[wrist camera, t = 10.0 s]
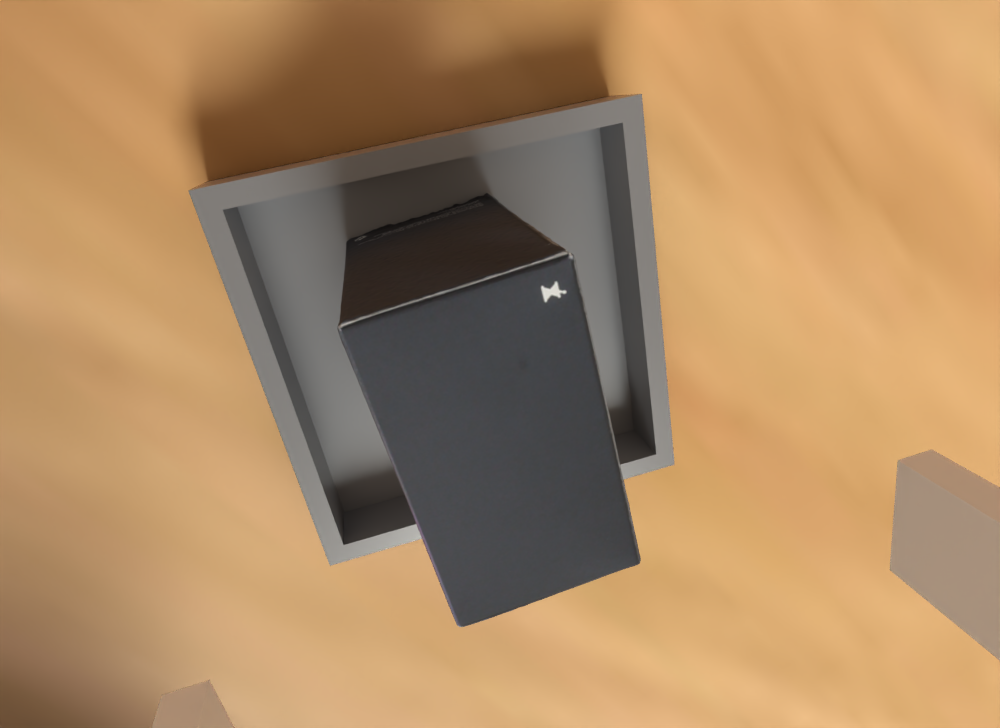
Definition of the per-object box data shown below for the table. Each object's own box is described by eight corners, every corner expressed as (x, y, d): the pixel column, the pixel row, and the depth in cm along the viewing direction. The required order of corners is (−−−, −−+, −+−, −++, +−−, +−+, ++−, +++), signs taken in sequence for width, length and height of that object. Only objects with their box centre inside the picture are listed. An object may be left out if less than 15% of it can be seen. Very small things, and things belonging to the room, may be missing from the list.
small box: (332, 239, 24) (319, 322, 15) (493, 188, 25) (582, 236, 15) (418, 464, 28) (452, 642, 19) (554, 416, 29) (653, 565, 19)
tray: (332, 523, 29) (330, 565, 27) (207, 181, 23) (188, 190, 20) (646, 433, 31) (674, 464, 28) (610, 96, 25) (641, 93, 22)
